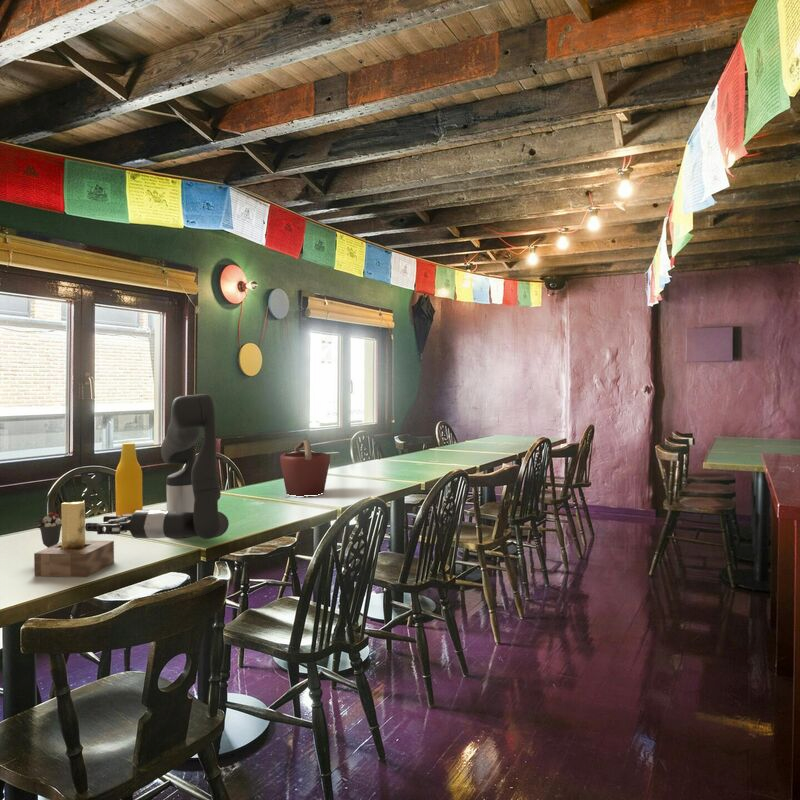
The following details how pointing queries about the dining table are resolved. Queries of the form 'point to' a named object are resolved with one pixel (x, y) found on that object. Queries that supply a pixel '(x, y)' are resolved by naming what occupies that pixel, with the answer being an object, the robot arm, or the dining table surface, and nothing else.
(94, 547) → the walnut socket block
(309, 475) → the bucket
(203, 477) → the robot arm
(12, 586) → the dining table surface
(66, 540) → the brass peg
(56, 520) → the sundae
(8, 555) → the dining table surface
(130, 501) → the beer bottle
